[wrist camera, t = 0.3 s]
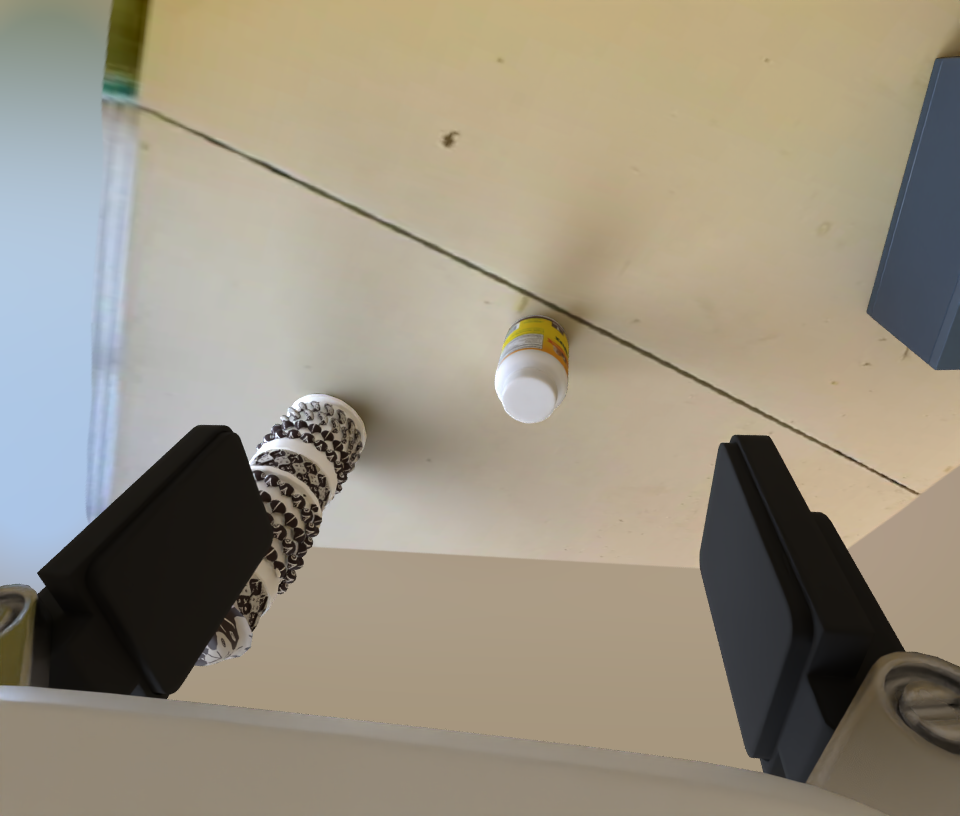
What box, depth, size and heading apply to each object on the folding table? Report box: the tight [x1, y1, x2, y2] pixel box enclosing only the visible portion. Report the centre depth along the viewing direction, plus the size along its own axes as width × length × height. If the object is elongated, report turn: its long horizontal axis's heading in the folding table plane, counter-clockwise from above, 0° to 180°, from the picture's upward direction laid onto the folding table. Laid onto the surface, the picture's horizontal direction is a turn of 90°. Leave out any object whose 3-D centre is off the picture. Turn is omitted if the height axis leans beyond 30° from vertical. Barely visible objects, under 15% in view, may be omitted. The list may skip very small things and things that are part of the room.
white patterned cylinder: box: [195, 394, 367, 666], centre depth 46 cm, size 9×9×25 cm
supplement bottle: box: [495, 315, 569, 423], centre depth 44 cm, size 6×6×10 cm
